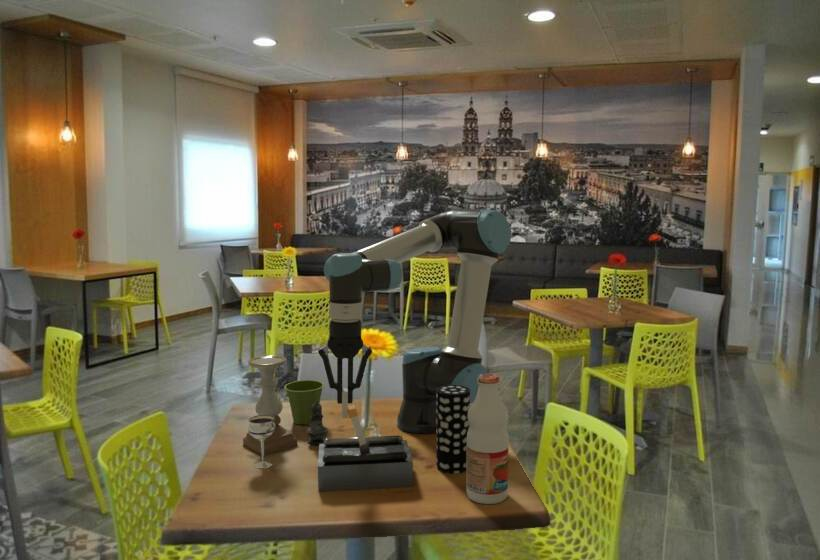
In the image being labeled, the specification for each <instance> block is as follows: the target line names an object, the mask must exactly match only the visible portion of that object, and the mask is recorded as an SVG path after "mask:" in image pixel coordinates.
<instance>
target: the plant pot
mask: <svg viewBox="0 0 820 560" xmlns="http://www.w3.org/2000/svg"><path fill="white" fill-rule="evenodd" d="M324 386H325V383H324V382H322V381H320V380H314V379H303V380H295V381H292V382H289V383H286V384H285V385H284V386H283V387H284V390H286V396H287V397H288V402H289V405H290V410H291V415H292V421H293V423H294V424H296V425H298V424H299V425H305V426H309V424H310V425H311V424H312V423H311V418H310V416H311V415H312V412H311V406H312V405H313V404H315V403H316V400H317V403H319V404H321V396H322V393H323V388H324ZM299 425H298V426H299Z"/></svg>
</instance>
